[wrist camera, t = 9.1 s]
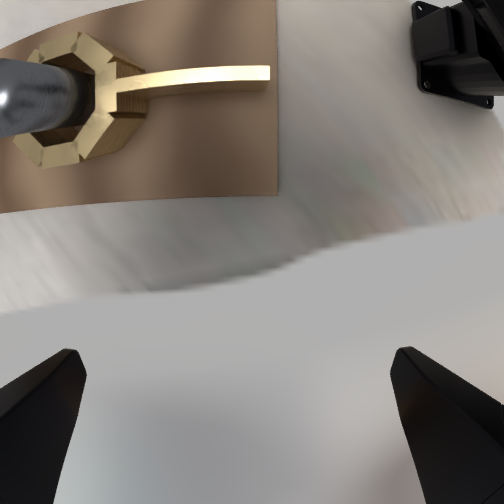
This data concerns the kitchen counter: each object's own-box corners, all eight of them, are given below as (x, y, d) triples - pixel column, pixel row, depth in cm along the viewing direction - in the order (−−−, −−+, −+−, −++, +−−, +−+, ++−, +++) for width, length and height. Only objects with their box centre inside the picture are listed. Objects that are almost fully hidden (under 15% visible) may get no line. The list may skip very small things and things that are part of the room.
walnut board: (273, -4, 14) (275, -10, 13) (276, 191, 18) (277, 195, 17) (-5, 57, 13) (-14, 56, 12) (3, 210, 18) (-5, 214, 17)
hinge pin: (119, 73, 14) (23, 46, 6) (121, 120, 15) (23, 129, 7) (77, 83, 14) (-31, 74, 6) (79, 128, 15) (-29, 148, 7)
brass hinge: (263, 33, 14) (268, 4, 10) (264, 143, 16) (270, 149, 12) (-10, 90, 14) (-54, 92, 9) (-5, 174, 16) (-48, 189, 12)
